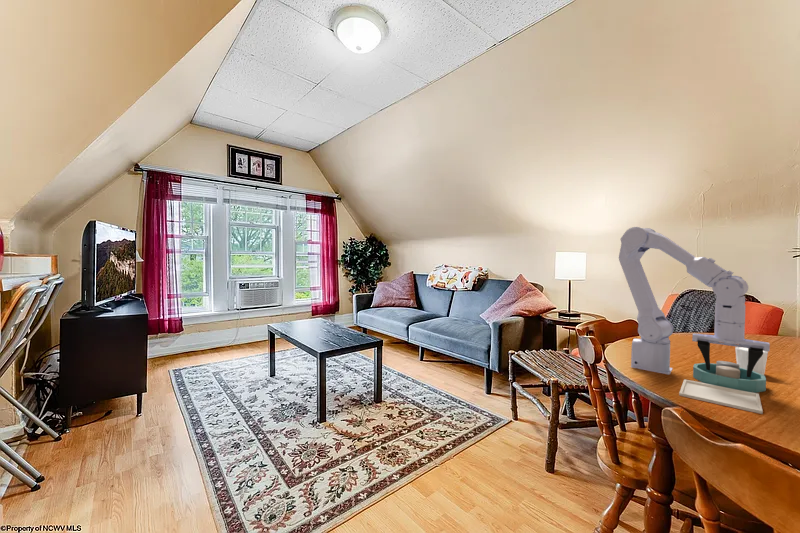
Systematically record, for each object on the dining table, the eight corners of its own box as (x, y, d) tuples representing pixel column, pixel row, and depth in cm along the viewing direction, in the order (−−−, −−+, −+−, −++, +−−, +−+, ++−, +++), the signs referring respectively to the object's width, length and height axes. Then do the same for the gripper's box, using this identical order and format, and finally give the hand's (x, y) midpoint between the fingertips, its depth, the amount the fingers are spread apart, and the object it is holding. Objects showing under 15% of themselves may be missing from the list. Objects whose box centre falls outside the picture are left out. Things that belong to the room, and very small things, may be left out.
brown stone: (727, 386, 87) (728, 371, 87) (710, 380, 92) (711, 365, 92) (744, 386, 87) (745, 371, 87) (727, 380, 92) (727, 365, 92)
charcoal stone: (727, 380, 92) (727, 366, 92) (711, 374, 96) (711, 360, 96) (743, 380, 92) (744, 366, 92) (727, 374, 96) (727, 360, 96)
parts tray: (679, 397, 83) (679, 392, 83) (683, 383, 92) (684, 379, 92) (762, 416, 73) (762, 411, 73) (758, 398, 82) (758, 393, 82)
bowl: (691, 383, 92) (691, 371, 92) (695, 371, 102) (695, 360, 102) (767, 399, 82) (767, 385, 82) (763, 383, 92) (763, 371, 92)
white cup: (728, 368, 105) (728, 346, 104) (748, 368, 105) (748, 346, 105) (753, 376, 98) (753, 352, 97) (774, 376, 98) (775, 352, 98)
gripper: (692, 320, 91) (690, 369, 92) (771, 328, 81) (769, 383, 82) (694, 316, 96) (692, 363, 97) (769, 324, 86) (767, 376, 87)
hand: (727, 372), depth 90 cm, fingers open, 7 cm apart
